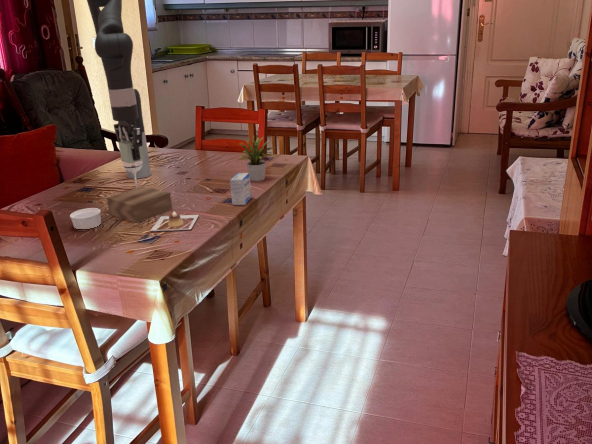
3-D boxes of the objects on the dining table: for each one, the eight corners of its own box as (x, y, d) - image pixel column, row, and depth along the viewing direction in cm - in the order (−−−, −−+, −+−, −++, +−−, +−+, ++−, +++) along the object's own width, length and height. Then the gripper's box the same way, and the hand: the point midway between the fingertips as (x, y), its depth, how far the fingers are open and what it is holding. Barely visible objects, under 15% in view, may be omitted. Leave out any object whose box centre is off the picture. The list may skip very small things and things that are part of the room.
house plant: (251, 188, 201) (247, 142, 195) (229, 181, 211) (224, 137, 205) (282, 179, 209) (279, 135, 203) (259, 172, 219) (256, 130, 213)
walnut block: (110, 215, 183) (106, 197, 181) (145, 203, 193) (143, 186, 191) (136, 223, 175) (133, 205, 173) (172, 210, 185) (170, 192, 183)
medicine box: (245, 205, 184) (242, 179, 181) (232, 205, 185) (229, 179, 182) (251, 197, 191) (249, 172, 188) (239, 197, 192) (236, 172, 189)
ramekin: (85, 233, 169) (82, 219, 168) (66, 228, 174) (63, 215, 172) (109, 223, 176) (106, 210, 175) (90, 219, 181) (87, 206, 179)
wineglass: (150, 189, 207) (145, 156, 203) (134, 194, 203) (128, 161, 198) (140, 186, 212) (135, 154, 207) (124, 191, 207) (118, 158, 203)
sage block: (121, 161, 178) (118, 142, 176) (136, 157, 181) (133, 139, 179) (129, 163, 175) (126, 144, 173) (144, 160, 178) (141, 141, 176)
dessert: (161, 219, 178) (159, 205, 176) (199, 218, 177) (197, 203, 176) (150, 234, 167) (148, 218, 165) (191, 232, 166) (189, 217, 164)
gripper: (101, 103, 175) (110, 158, 181) (123, 107, 165) (132, 165, 171) (123, 99, 179) (132, 153, 185) (146, 103, 169) (154, 159, 175)
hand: (132, 158), depth 178 cm, fingers closed on sage block, 5 cm apart
